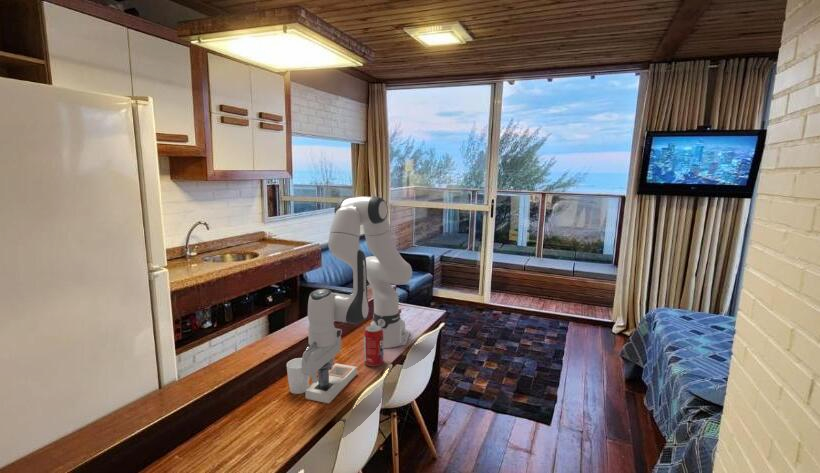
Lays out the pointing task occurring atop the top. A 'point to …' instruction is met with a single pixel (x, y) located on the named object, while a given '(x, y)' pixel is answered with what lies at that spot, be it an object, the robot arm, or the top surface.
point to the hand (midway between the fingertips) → (322, 375)
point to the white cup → (297, 377)
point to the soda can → (373, 345)
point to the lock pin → (324, 377)
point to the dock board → (332, 383)
